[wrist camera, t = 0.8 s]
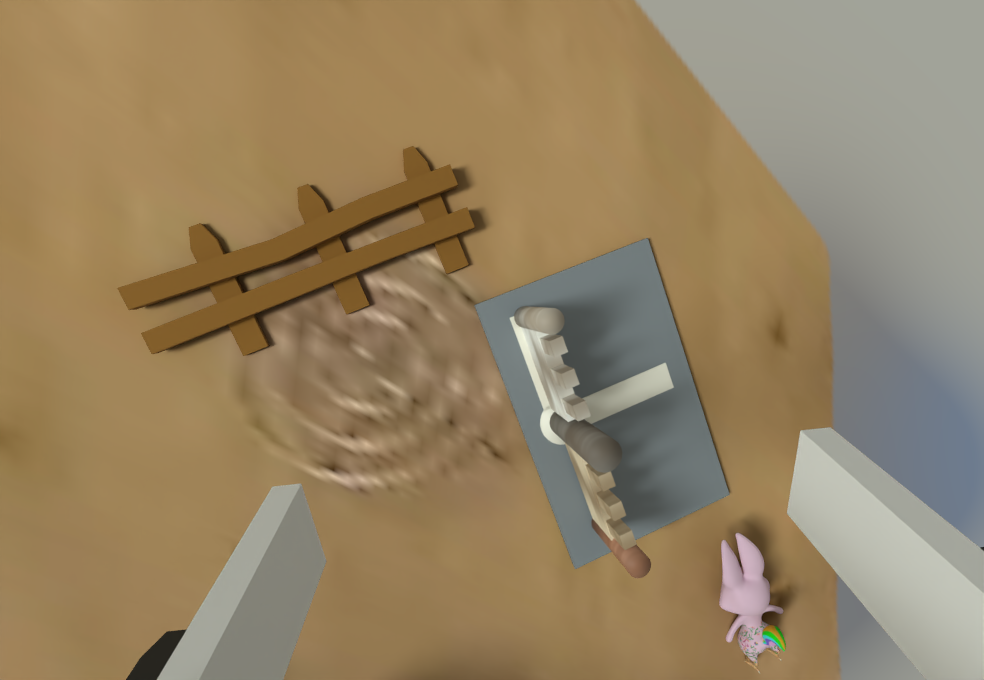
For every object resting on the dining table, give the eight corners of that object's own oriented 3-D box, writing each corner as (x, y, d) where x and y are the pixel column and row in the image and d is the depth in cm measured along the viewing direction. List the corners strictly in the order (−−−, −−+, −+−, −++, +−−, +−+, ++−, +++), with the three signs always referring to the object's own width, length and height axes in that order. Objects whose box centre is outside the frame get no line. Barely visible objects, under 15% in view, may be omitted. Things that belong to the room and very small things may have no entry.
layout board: (726, 492, 45) (730, 494, 44) (574, 566, 43) (575, 569, 42) (645, 238, 41) (648, 237, 41) (474, 305, 39) (475, 305, 39)
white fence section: (579, 428, 41) (626, 463, 32) (554, 439, 41) (595, 478, 32) (533, 301, 39) (570, 302, 31) (507, 312, 39) (536, 315, 30)
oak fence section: (561, 443, 40) (592, 473, 33) (580, 434, 41) (615, 462, 34) (595, 535, 42) (632, 582, 35) (613, 526, 42) (653, 571, 35)
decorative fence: (482, 259, 39) (436, 141, 38) (487, 257, 38) (437, 133, 36) (181, 381, 36) (117, 257, 35) (168, 386, 34) (99, 255, 33)
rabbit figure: (771, 625, 49) (746, 510, 44) (823, 678, 43) (800, 552, 38) (719, 654, 48) (688, 540, 43) (765, 711, 42) (734, 587, 38)
